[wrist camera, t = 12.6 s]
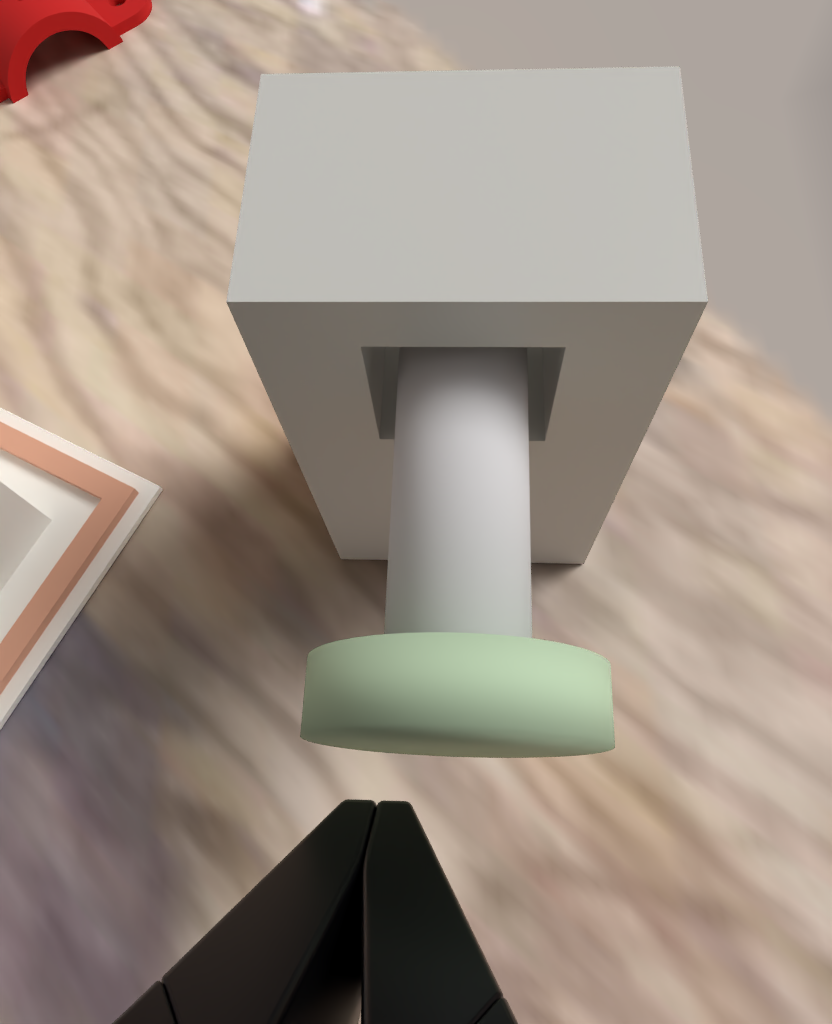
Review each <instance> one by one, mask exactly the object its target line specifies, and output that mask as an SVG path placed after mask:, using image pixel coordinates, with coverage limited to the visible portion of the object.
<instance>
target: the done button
mask: <svg viewBox="0 0 832 1024" xmlns="http://www.w3.org/2000/svg"><path fill="white" fill-rule="evenodd" d="M300 737H301V738H302V739H304V740H307V741H310V742H313V743H318V744H322V745H328V746H333V747H340V748H347V749H355V750H364V751H374V752H385V753H398V754H412V755H429V756H451V757H489V758H528V757H560V756H576V755H587V754H595V753H601V752H606V751H609V750H612V749H614V748H615V740H614V722H613V703H612V684H611V666H610V662H609V661H608V660H607V659H606V658H604V657H603V656H601V655H599V654H597V653H595V652H592V651H589V650H586V649H583V648H580V647H576V646H572V645H568V644H563V643H558V642H553V641H547V640H540V639H533V638H532V605H531V545H530V486H529V426H528V367H527V347H399V365H398V383H397V402H396V421H395V440H394V459H393V477H392V496H391V515H390V534H389V552H388V571H387V590H386V609H385V628H384V634H382V635H371V636H363V637H355V638H349V639H344V640H339V641H335V642H331V643H327V644H324V645H322V646H319V647H316V648H315V649H313V650H312V651H310V653H309V654H308V656H307V667H306V678H305V689H304V701H303V712H302V723H301V735H300Z"/></svg>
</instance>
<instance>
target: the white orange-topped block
mask: <svg viewBox="0 0 832 1024" xmlns="http://www.w3.org/2000/svg"><path fill="white" fill-rule="evenodd" d="M51 521H52V520H51V519H50V518H48V517H47V516H46V515H44V514H43V513H42V512H40V511H39V510H38V509H36V508H35V507H34V506H32V505H31V504H30V503H28V502H27V501H26V500H24V499H23V498H22V497H20V496H19V495H18V494H16V493H15V492H14V491H12V490H11V489H10V488H8V487H7V486H6V485H4V484H3V483H2V482H0V591H1V590H2V589H3V587H4V586H5V585H6V583H7V582H8V580H9V579H10V578H11V576H12V575H13V573H14V572H15V571H16V569H17V568H18V567H19V565H20V564H21V562H22V561H23V560H24V558H25V557H26V555H27V554H28V553H29V551H30V550H31V549H32V547H33V546H34V544H35V543H36V542H37V540H38V539H39V537H40V536H41V535H42V533H43V532H44V531H45V529H46V528H47V526H48V525H49V524H50V522H51Z"/></svg>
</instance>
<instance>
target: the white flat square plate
mask: <svg viewBox="0 0 832 1024" xmlns="http://www.w3.org/2000/svg"><path fill="white" fill-rule="evenodd" d="M0 482H2V483H3V484H4V485H6V486H7V487H8V488H10V489H11V490H12V491H14V492H15V493H16V494H18V495H19V496H20V497H22V498H23V499H24V500H26V501H27V502H28V503H30V504H31V505H32V506H34V507H35V508H36V509H38V510H39V511H40V512H42V513H43V514H44V515H46V516H47V517H48V518H50V519H51V520H52V521H51V522H50V524H49V525H48V526H47V528H46V529H45V531H44V532H43V533H42V535H41V536H40V537H39V539H38V540H37V542H36V543H35V544H34V546H33V547H32V549H31V550H30V551H29V553H28V554H27V555H26V557H25V558H24V560H23V561H22V562H21V564H20V565H19V567H18V568H17V569H16V571H15V572H14V573H13V575H12V576H11V578H10V579H9V580H8V582H7V583H6V585H5V586H4V587H3V589H2V590H1V591H0V730H1V728H2V727H3V725H4V724H5V722H6V721H7V719H8V718H9V717H10V715H11V714H12V712H13V711H14V709H15V708H16V706H17V705H18V703H19V702H20V700H21V699H22V697H23V696H24V694H25V693H26V691H27V690H28V688H29V687H30V685H31V684H32V682H33V681H34V680H35V678H36V677H37V675H38V674H39V672H40V671H41V669H42V668H43V666H44V665H45V663H46V662H47V660H48V659H49V657H50V656H51V654H52V653H53V651H54V650H55V648H56V647H57V646H58V644H59V643H60V641H61V640H62V638H63V637H64V635H65V634H66V632H67V631H68V629H69V628H70V626H71V625H72V623H73V622H74V620H75V619H76V617H77V616H78V614H79V613H80V611H81V610H82V609H83V607H84V606H85V604H86V603H87V601H88V600H89V598H90V597H91V595H92V594H93V592H94V591H95V589H96V588H97V586H98V585H99V583H100V582H101V580H102V579H103V577H104V576H105V574H106V573H107V572H108V570H109V569H110V567H111V566H112V564H113V563H114V561H115V560H116V558H117V557H118V555H119V554H120V552H121V551H122V549H123V548H124V546H125V545H126V543H127V542H128V540H129V539H130V537H131V536H132V535H133V533H134V532H135V530H136V529H137V527H138V526H139V524H140V523H141V521H142V520H143V518H144V517H145V515H146V514H147V512H148V511H149V509H150V508H151V506H152V505H153V503H154V502H155V501H156V499H157V498H158V496H159V495H160V493H161V492H162V490H163V489H162V488H161V487H160V486H158V485H156V484H154V483H152V482H150V481H148V480H146V479H144V478H142V477H140V476H138V475H136V474H134V473H132V472H130V471H128V470H126V469H124V468H122V467H120V466H118V465H116V464H114V463H112V462H110V461H108V460H106V459H104V458H101V457H99V456H97V455H95V454H93V453H91V452H89V451H87V450H85V449H83V448H81V447H79V446H77V445H75V444H73V443H71V442H69V441H67V440H65V439H63V438H61V437H59V436H57V435H55V434H53V433H51V432H49V431H47V430H45V429H43V428H41V427H39V426H37V425H35V424H33V423H30V422H28V421H26V420H24V419H22V418H20V417H18V416H16V415H14V414H12V413H10V412H8V411H6V410H4V409H2V408H0Z"/></svg>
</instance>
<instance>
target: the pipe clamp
mask: <svg viewBox="0 0 832 1024" xmlns="http://www.w3.org/2000/svg"><path fill="white" fill-rule="evenodd" d="M118 4H122V5H119V6H116V5H118ZM151 10H152V2H151V0H0V103H1V102H3V101H4V100H6V99H8V98H9V99H10V100H11V101H12V102H13V103H15V102H17V101H19V100H20V99H22V98H24V97H26V96H27V95H28V92H27V88H26V69H27V65H28V62H29V59H30V57H31V55H32V53H33V52H34V50H35V49H36V47H37V46H38V45H39V44H40V43H41V42H42V41H43V40H45V39H46V38H48V37H49V36H51V35H53V34H55V33H58V32H62V31H67V30H78V31H83V32H86V33H89V34H91V35H93V36H95V37H97V38H98V39H99V40H100V41H101V42H102V43H103V44H104V45H105V46H106V47H107V48H108V49H111V48H113V47H114V46H116V45H118V44H120V43H122V42H123V41H122V39H121V37H120V35H122V34H124V33H126V32H127V31H129V30H131V29H133V28H135V27H136V26H138V25H140V24H141V23H142V22H144V21H145V20H146V19H147V17H148V16H149V15H150V13H151Z"/></svg>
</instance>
